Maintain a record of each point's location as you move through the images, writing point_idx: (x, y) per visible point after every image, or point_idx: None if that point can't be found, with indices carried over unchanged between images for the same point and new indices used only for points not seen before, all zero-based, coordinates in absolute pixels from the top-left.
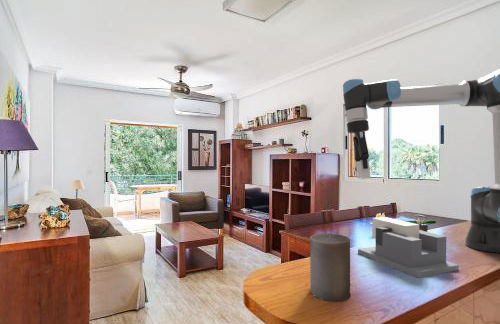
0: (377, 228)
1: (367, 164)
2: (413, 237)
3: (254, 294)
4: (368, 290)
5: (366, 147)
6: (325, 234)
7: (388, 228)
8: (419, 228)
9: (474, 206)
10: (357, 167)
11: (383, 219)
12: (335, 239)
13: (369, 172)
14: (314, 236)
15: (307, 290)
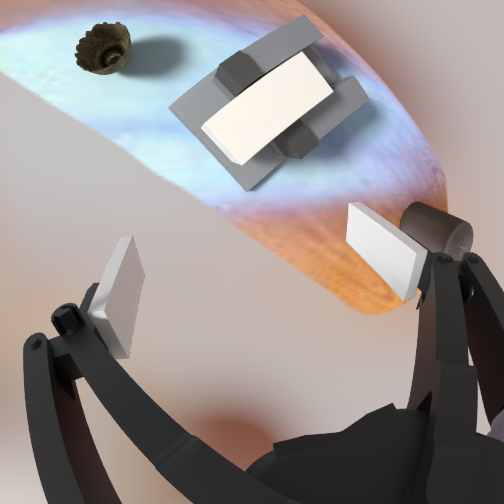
0: (305, 154)
1: (419, 242)
2: (342, 85)
3: (418, 289)
4: (404, 180)
5: (502, 298)
6: (450, 255)
7: (303, 126)
8: (85, 45)
9: None
10: (133, 317)
11: (256, 133)
12: (466, 239)
13: (375, 215)
14: None
15: None
